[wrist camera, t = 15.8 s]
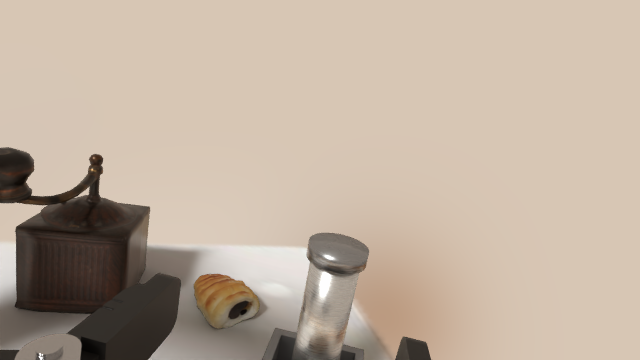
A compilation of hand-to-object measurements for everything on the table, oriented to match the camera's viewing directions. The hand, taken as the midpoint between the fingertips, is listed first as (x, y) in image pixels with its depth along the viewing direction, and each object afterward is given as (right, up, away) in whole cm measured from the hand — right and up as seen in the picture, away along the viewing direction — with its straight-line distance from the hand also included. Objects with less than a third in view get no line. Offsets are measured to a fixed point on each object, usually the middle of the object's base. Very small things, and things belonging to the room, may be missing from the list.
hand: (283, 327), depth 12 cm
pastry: (-11, -11, +31) cm, 35 cm away
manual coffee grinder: (-27, -9, +28) cm, 40 cm away
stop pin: (0, -14, +19) cm, 23 cm away
